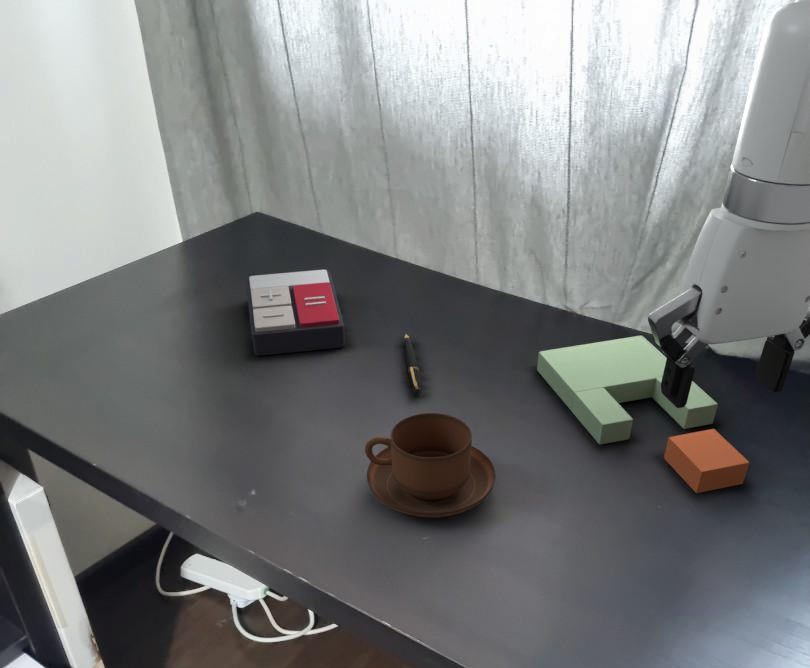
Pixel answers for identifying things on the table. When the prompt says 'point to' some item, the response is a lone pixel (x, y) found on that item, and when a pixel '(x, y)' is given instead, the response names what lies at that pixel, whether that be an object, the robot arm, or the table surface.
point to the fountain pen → (412, 366)
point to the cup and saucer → (429, 467)
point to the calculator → (294, 312)
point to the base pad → (616, 385)
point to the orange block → (706, 460)
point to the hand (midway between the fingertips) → (720, 392)
